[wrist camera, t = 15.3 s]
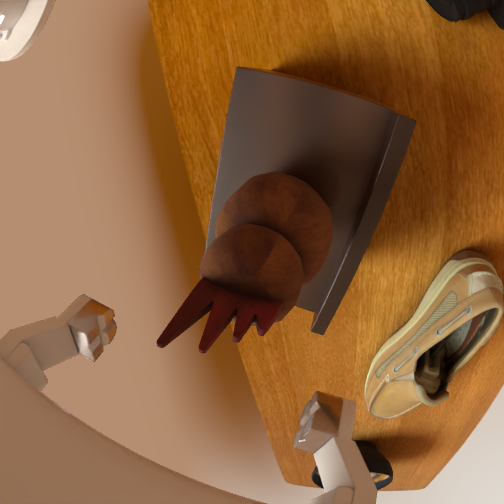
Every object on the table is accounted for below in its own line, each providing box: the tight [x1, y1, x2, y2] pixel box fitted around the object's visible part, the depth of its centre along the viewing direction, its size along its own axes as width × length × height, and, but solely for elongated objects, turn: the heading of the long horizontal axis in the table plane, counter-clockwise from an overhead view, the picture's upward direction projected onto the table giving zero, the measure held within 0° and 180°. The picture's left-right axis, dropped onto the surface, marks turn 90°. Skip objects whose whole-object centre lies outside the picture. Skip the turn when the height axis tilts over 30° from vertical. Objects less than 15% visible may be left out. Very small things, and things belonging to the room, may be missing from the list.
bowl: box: [312, 441, 393, 490], centre depth 51 cm, size 17×17×10 cm
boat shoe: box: [365, 250, 504, 420], centre depth 32 cm, size 10×29×11 cm, turn 174°
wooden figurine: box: [157, 171, 333, 353], centre depth 17 cm, size 7×6×15 cm
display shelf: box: [205, 67, 416, 335], centre depth 26 cm, size 12×18×12 cm, turn 168°
